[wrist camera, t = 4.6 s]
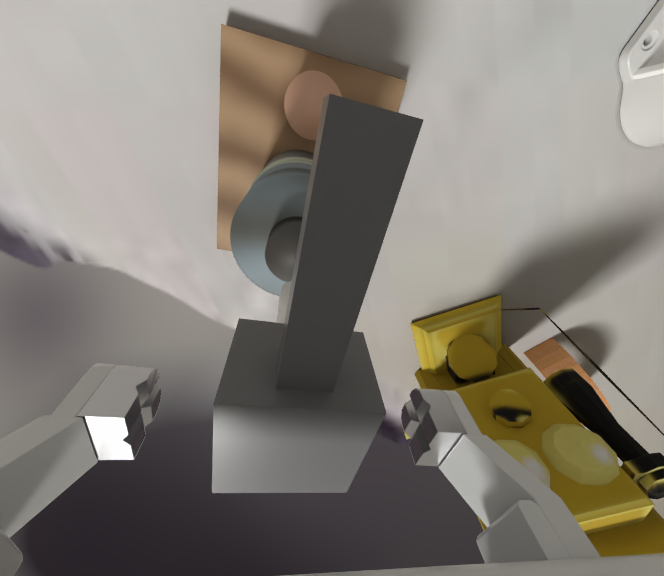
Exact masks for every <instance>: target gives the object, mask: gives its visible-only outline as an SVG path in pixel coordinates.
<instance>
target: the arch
mask: <svg viewBox="0 0 664 576" xmlns="http://www.w3.org/2000/svg"><path fill="white" fill-rule="evenodd" d="M524 354H525V355H526V356H527V357H528V359H529V360H530V361H531V362H532V363H533V364H534V365H535V366H536V368H537V369H538V370H539V371H540V372H541V373H542V375H543V376H544V377H545V378H546V379H547V378H548V377H549V376H550V375H551V374H553V373H555V372H557V371H559V370H561V369H570V368H573V369H574V370H575V371H576V372H577V373H578V374H579V375H580V376H581V377H582V378H583V379H585V380H586V381H587V382H588V383H589V384H590V385H591V386H592V387H593V389H594V390H595V391H596V393H597V394H598V396H599V397H600V398H601V400H602V401H603V403H604V404H605V406H606V407H607V408H608V410H609V411H610V412H611V408H610V406H609V403H608V402H607V400H606V398H605V397H604V395H603V394H602V392H601V391H600V390H599V388H598V387H597V386H596V384H595V383H594V382H593V380H592V379H591V378H590V377H589V376H588V374H587V373H586V372H585V371H584V370H583V369H582V367H581V366H580V365H579V364H578V363H577V362H576V361H575V360H574V359H573V358H572V357H571V356H570V354H569V353H568V352H567V351H566V350H565V349H564V348H563V347H562V346H560V345H559V344H558V343H557V342H556V341H555V340H554V339H553V338H551V339H549V340H547V341H545V342H543V343H541V344H539V345H538V346H536V347H534V348H532V349H530V350H528V351H526V352H525V353H524ZM582 425H583V424H582Z"/></svg>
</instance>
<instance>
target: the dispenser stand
mask: <svg viewBox="0 0 664 576" xmlns="http://www.w3.org/2000/svg"><path fill="white" fill-rule="evenodd" d="M311 70H313V71H320V72H322V73H325V74H326V75H328V76H329V77H330V78H331V79H332V80H333V81H334V82H335V83H336V84H337V86H338V88H339V90H340V92H341V96H342V97H344V98H348V99H351V100H355V101H358V102H362V103H365V104H369V105H372V106H376V107H380V108H383V109H387V110H390V111H394V112H397V113H398V109H399V106H400V102H401V99H402V95H403V92H404V89H405V85H406V82H407V81H406V80H403V79H399V78H396V77H393V76H390V75H386V74H383V73H380V72H377V71H373V70H370V69H367V68H364V67H360V66H357V65H354V64H351V63H347V62H344V61H341V60H338V59H334V58H331V57H328V56H324V55H321V54H318V53H315V52H311V51H308V50H305V49H302V48H298V47H295V46H292V45H289V44H285V43H282V42H279V41H276V40H272V39H269V38H266V37H263V36H259V35H256V34H253V33H250V32H246V31H243V30H240V29H236V28H233V27H230V26H227V25H223V24H221V64H220V116H219V167H218V219H217V249H222V250H229V251H232V252H233V255H234V258H235V260H236V262H237V264H238V266H239V267H240V269H241V270H242V272H243V273H244V274H245V275H246V277H247V278H248V279H250V280H251V281H252V282H253V283H254V284H255V285H257V286H258V287H260V288H261V289H263V290H265V291H267V292H269V293H272V294H274V295H278V296H280V290H281V288H282V286H283V285H284V284H285V283H287V282H289V281H292V276H293V271H294V265H295V259H296V253H297V247H298V242H299V236H300V230H301V224H302V219H303V213H304V207H305V201H306V196H307V190H308V184H309V178H310V173H311V167H312V161H313V155H314V150H315V144H316V140H308V139H305V138H303V137H301V136H300V135H298V134H297V133H296V132H295V131H294V130H293V129H292V127H291V126H290V124H289V122H288V120H287V118H286V114H285V109H284V99H285V94H286V91H287V88H288V86H289V84H290V83H291V81H292V80H293V79H294V78H295V77H296V76H297V75H299V74H301V73H303V72H306V71H311Z"/></svg>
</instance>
